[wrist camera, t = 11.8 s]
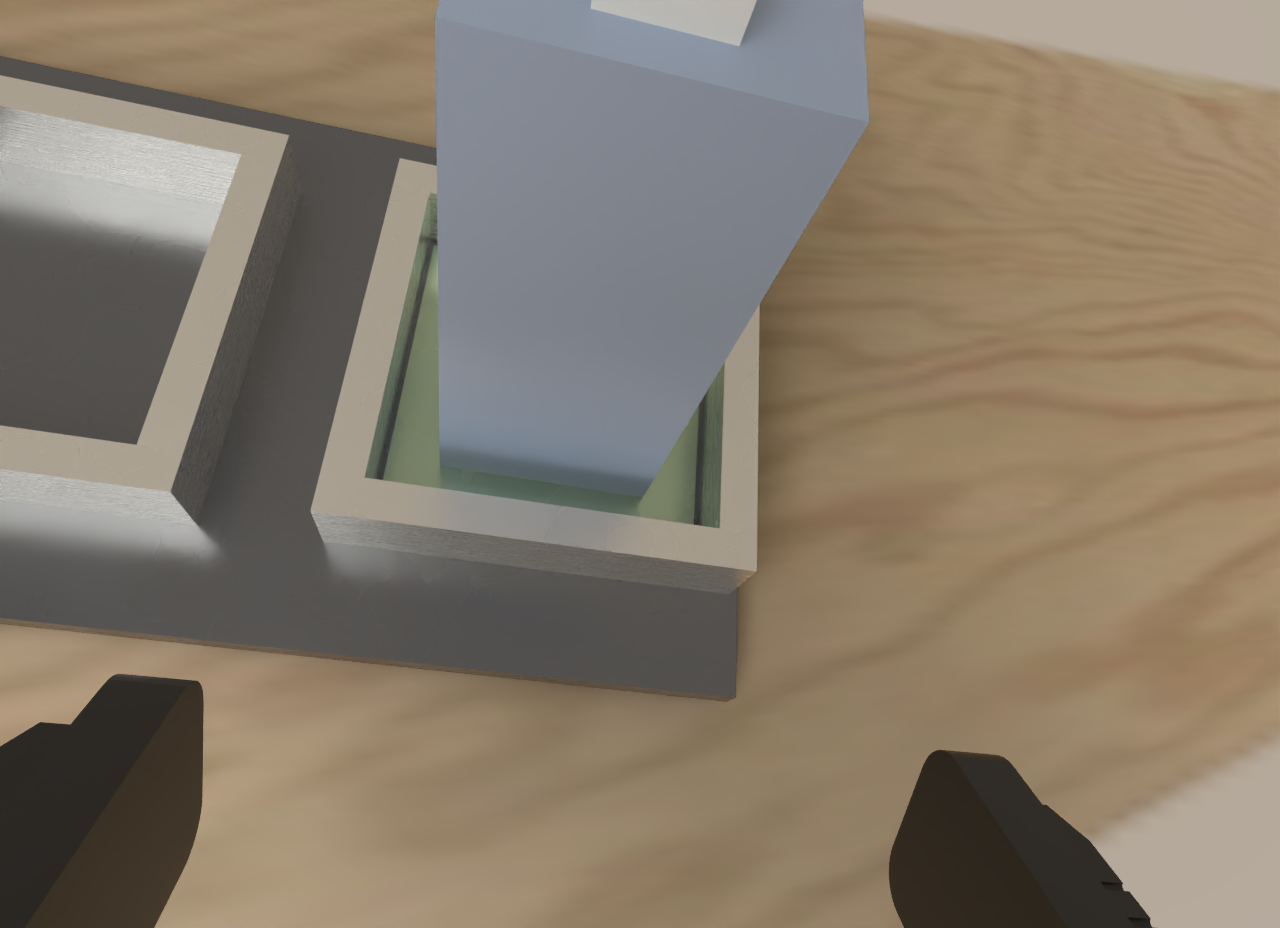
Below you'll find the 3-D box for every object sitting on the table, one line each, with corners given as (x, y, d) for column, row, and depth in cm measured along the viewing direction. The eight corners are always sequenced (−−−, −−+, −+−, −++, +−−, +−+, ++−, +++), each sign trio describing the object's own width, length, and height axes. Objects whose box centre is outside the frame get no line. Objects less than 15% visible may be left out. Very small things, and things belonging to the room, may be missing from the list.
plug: (439, 465, 18) (434, -65, 7) (473, 294, 20) (508, -323, 9) (642, 497, 18) (907, 58, 8) (656, 329, 20) (885, -205, 10)
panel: (-365, 584, 14) (-506, 542, 12) (-53, 63, 20) (-114, -29, 18) (726, 701, 18) (765, 684, 16) (738, 227, 23) (768, 166, 21)
